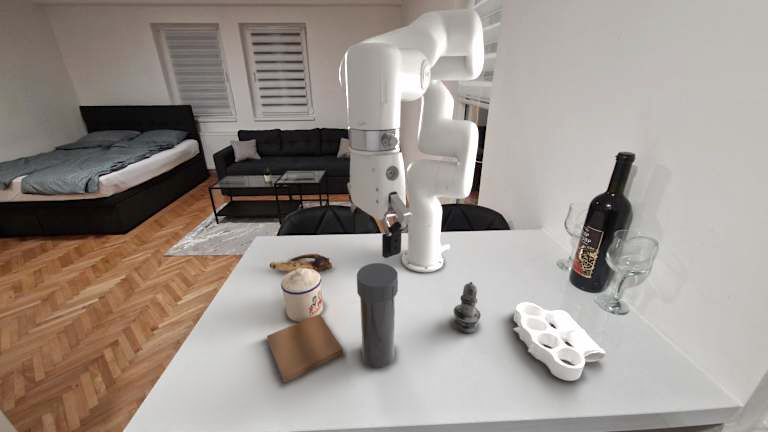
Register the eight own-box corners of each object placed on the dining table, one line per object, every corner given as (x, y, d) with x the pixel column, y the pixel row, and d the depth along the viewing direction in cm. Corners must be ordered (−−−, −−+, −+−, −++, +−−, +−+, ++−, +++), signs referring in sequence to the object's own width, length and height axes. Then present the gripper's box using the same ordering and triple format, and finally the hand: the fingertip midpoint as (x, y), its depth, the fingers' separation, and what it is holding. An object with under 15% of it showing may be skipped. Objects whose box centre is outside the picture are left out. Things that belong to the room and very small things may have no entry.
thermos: (382, 337, 66) (382, 263, 58) (400, 358, 61) (402, 280, 53) (357, 350, 63) (352, 274, 55) (373, 373, 58) (371, 293, 50)
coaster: (320, 318, 71) (319, 313, 70) (343, 354, 62) (342, 348, 61) (267, 340, 65) (266, 335, 64) (284, 383, 56) (283, 378, 55)
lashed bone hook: (335, 259, 95) (276, 259, 94) (334, 246, 94) (275, 246, 93) (331, 276, 87) (267, 276, 86) (330, 261, 85) (265, 262, 84)
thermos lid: (383, 274, 60) (383, 258, 58) (405, 293, 54) (405, 277, 53) (350, 286, 56) (349, 270, 55) (370, 309, 51) (370, 292, 49)
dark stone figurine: (479, 319, 71) (486, 276, 66) (477, 337, 66) (485, 293, 61) (453, 313, 73) (458, 271, 68) (450, 330, 68) (455, 287, 63)
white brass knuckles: (616, 375, 57) (543, 384, 56) (555, 310, 74) (498, 315, 72) (621, 363, 56) (547, 371, 54) (558, 299, 72) (500, 304, 71)
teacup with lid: (317, 325, 69) (312, 283, 64) (279, 322, 70) (271, 280, 65) (331, 291, 80) (328, 254, 75) (298, 289, 81) (293, 252, 76)
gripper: (433, 147, 40) (425, 259, 47) (367, 131, 53) (368, 220, 60) (385, 153, 36) (384, 274, 43) (327, 134, 49) (333, 229, 56)
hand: (375, 242), depth 51 cm, fingers open, 9 cm apart
